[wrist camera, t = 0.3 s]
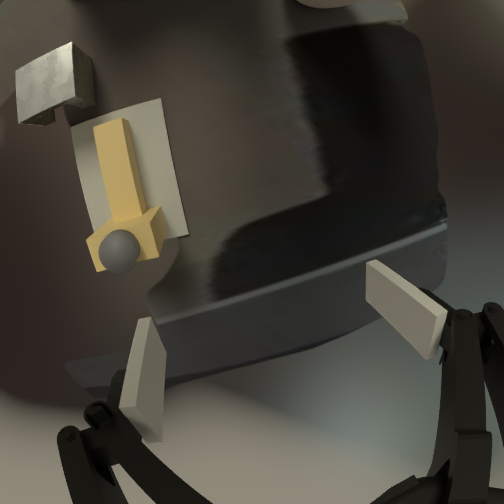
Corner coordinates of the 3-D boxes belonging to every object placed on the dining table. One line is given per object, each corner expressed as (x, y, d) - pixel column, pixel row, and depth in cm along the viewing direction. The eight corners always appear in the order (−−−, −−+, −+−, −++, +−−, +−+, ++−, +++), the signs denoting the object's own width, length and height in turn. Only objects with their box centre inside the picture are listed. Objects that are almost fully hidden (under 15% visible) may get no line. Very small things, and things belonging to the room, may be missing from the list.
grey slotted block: (41, 80, 28) (15, 70, 21) (91, 58, 29) (71, 41, 22) (45, 125, 31) (18, 123, 24) (96, 104, 32) (75, 96, 25)
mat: (71, 127, 32) (70, 127, 32) (161, 98, 34) (160, 98, 34) (102, 254, 40) (101, 255, 39) (188, 233, 41) (188, 234, 41)
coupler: (89, 133, 33) (52, 129, 22) (141, 116, 34) (120, 103, 23) (117, 246, 39) (92, 280, 28) (167, 233, 40) (157, 265, 29)
